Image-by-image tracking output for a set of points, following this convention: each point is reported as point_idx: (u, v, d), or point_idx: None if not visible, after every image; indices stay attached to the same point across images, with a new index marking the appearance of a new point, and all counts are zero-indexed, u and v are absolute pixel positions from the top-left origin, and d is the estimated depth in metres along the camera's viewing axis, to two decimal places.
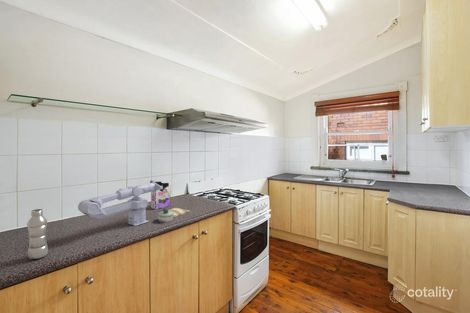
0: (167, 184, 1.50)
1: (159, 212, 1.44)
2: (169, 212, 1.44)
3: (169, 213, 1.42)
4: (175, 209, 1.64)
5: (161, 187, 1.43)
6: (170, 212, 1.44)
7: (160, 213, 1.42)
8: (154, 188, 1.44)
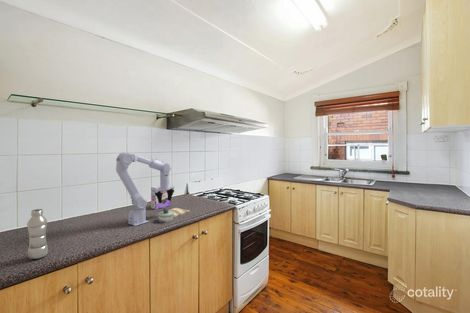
0: (159, 201, 1.45)
1: (159, 212, 1.44)
2: (169, 212, 1.44)
3: (169, 213, 1.42)
4: (175, 209, 1.64)
5: (155, 191, 1.43)
6: (170, 212, 1.44)
7: (160, 213, 1.42)
8: (160, 186, 1.47)
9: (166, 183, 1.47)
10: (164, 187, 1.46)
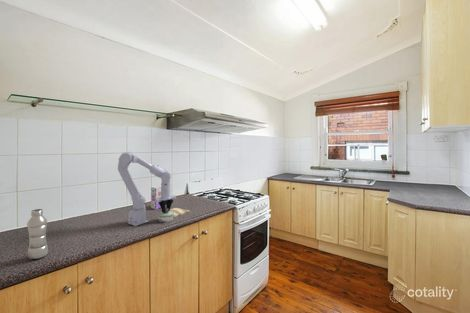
0: (163, 210, 1.41)
1: (159, 212, 1.43)
2: (169, 212, 1.44)
3: (169, 213, 1.42)
4: (175, 209, 1.64)
5: (156, 201, 1.36)
6: (170, 212, 1.44)
7: (160, 213, 1.41)
8: (161, 196, 1.40)
9: (167, 192, 1.40)
10: (165, 197, 1.40)
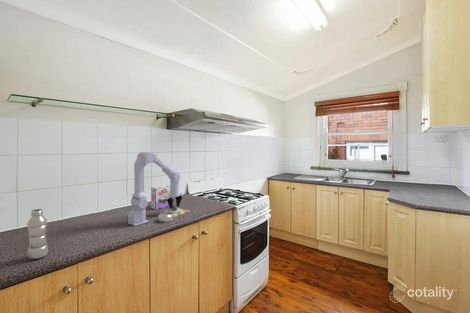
0: (170, 207, 1.56)
1: None
2: (177, 209, 1.60)
3: (178, 210, 1.58)
4: None
5: (166, 197, 1.52)
6: (178, 209, 1.60)
7: (170, 210, 1.58)
8: (170, 193, 1.57)
9: (176, 190, 1.56)
10: (174, 194, 1.56)
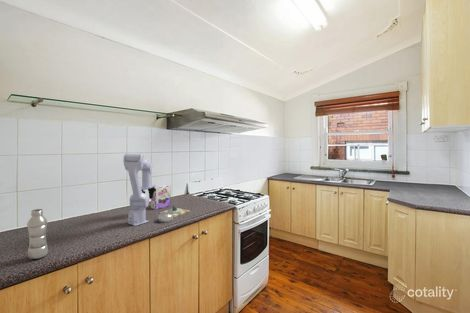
0: None
1: None
2: (177, 209, 1.60)
3: (178, 210, 1.58)
4: None
5: None
6: (178, 209, 1.60)
7: (170, 210, 1.58)
8: (142, 185, 1.51)
9: (148, 182, 1.51)
10: (146, 186, 1.51)
